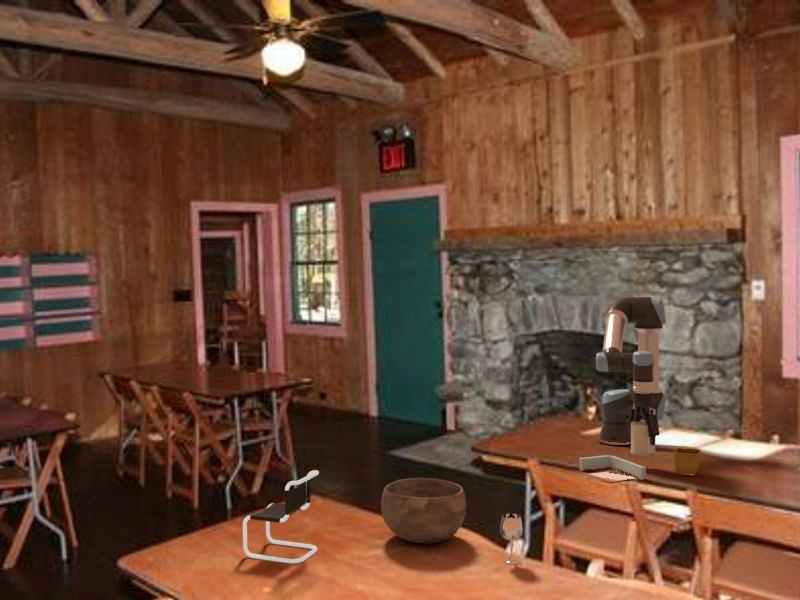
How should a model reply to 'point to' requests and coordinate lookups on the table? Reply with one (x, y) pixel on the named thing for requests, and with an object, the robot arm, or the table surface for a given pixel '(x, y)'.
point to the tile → (612, 476)
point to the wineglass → (511, 533)
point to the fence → (613, 464)
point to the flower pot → (687, 460)
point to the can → (639, 438)
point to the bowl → (423, 509)
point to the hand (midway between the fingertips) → (643, 450)
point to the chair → (284, 517)
